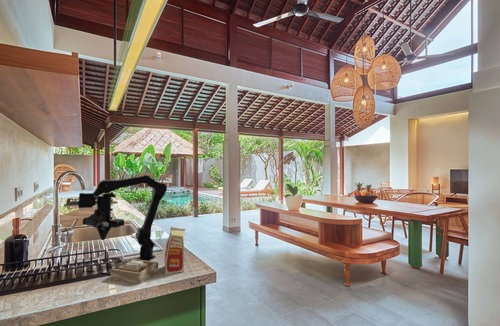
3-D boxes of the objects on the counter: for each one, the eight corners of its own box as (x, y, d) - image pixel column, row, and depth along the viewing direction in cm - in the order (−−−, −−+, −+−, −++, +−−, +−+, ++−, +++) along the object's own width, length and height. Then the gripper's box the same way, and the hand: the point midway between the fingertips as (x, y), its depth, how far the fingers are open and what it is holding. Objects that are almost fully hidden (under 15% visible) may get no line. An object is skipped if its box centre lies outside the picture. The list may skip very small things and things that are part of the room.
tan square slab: (128, 268, 120) (129, 258, 120) (147, 271, 118) (148, 260, 118) (116, 275, 113) (117, 264, 113) (136, 278, 110) (137, 267, 110)
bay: (131, 267, 123) (131, 258, 123) (157, 270, 120) (158, 262, 120) (110, 278, 110) (110, 269, 110) (139, 283, 107) (140, 273, 107)
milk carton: (165, 274, 117) (166, 229, 117) (163, 266, 125) (165, 224, 125) (186, 271, 120) (187, 228, 120) (183, 264, 129) (184, 223, 129)
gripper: (72, 208, 118) (71, 242, 118) (107, 211, 114) (106, 247, 114) (92, 204, 129) (91, 236, 129) (125, 207, 124) (124, 240, 125)
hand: (103, 239), depth 124 cm, fingers closed
